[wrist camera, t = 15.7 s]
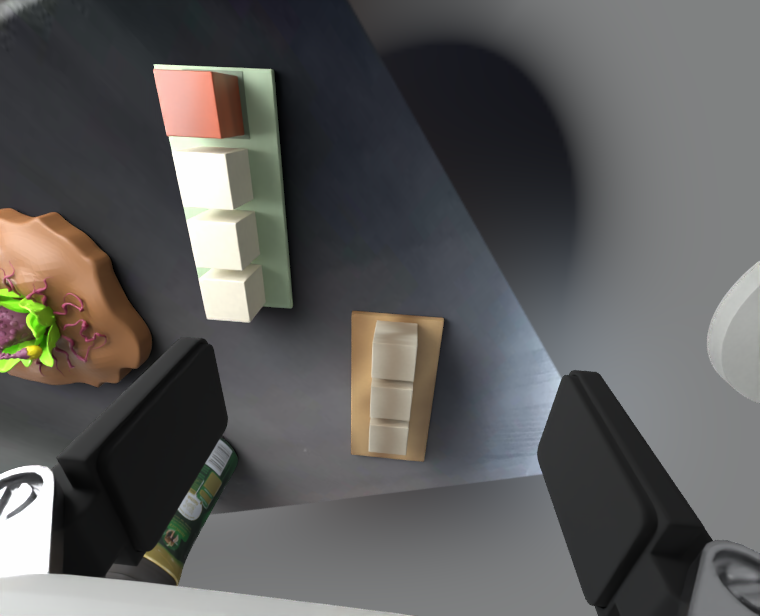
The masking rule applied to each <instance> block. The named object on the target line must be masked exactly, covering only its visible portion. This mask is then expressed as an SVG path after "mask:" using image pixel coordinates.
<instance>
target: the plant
mask: <svg viewBox="0 0 760 616" xmlns="http://www.w3.org/2000/svg"><path fill="white" fill-rule="evenodd" d="M151 348H152V336H151V333H150V330H149V329H148V327H147V325H146V323H145V322H144V320H143V319H142V318H141V316H140V315H139V314H138V313H137V311H136V310H135V309H134V308H133V306H132V305H131V303H130V302H129V300H128V299H127V297H126V295H125V293H124V291H123V289H122V287H121V285H120V283H119V281H118V279H117V277H116V276H115V273H114V271H113V267H112V262H111V259H110V258H109V256H108V255H107V254H106V253H105V252H103V251H102V250H101V249H100V248H99V247H98V246H97V245H96V244H95V243H94V241H93V240H92V239H91V238H90V237H89V236H87V235H86V234H85V233H84V232H82V231H81V230H79V229H77V228H76V227H74V226H73V225H71V224H70V223H69V222H67V221H66V220H65V219H64V218H63V217H62V216H61V215H60V214H58V213H56V212H52V213H48V214H45V215H42V216H38V217H30V216H27V215H24V214H21V213H19V212H17V211H15V210H13V209H10V208H5V209H0V372H8V373H9V374H10V375H12V376H17V377H21V378H24V379H27V380H32V381H37V382H42V383H45V384H50V385H63V384H71V383H76V382H82V383H87V384H90V385H93V386H95V387H100V386H101V385H102V384H103V383H105V382H109V383H118V382H120V381H121V380H122V379H123V378H124V377H125V376H126V375H127V374H128V373H129V372H130V371H131V370H132V368H133V369H136V368H138V367H140V366H141V365H142V364H143V363H144V362H145V361H146V360H147V359H148V357H149V355H150V352H151Z"/></svg>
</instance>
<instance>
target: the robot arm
mask: <svg viewBox="0 0 760 616" xmlns="http://www.w3.org/2000/svg"><path fill="white" fill-rule="evenodd" d="M759 349H760V348H759ZM227 422H228V416H227V411H226V406H225V401H224V397H223V392H222V387H221V382H220V378H219V373H218V368H217V363H216V359H215V354H214V349H213V347H212V345H210V344H208V343H207V341H206V340H205V339H202V338H191V337H181V338H180V339H178V340H177V341H176V342H175V343H174V344H173V345H172V346H171V347H170V348H169V349H168V350H167V351H166V352H165V353H164V354H163V355H162V356H161V357H160V358H159V359H158V360H157V361H156V362H155V363H154V364H153V365H151V366H150V367H149V368H148V369H147V370H146V371H145V372H144V373H143V374H142V375H141V376H140V377H139V378H138V379H137V380H136V381H135V382H134V383H133V384H132V385H131V386H130V387H129V388H128V389H127V390H126V391H125V392H124V393H123V394H122V395H121V396H119V397H118V398H117V399H116V400H115V401H114V402H113V403H112V404H111V405H110V406H109V407H108V408H107V409H106V410H105V411H104V412H103V413H102V414H101V415H100V416H99V417H98V418H97V419H96V420H95V421H94V422H93V423H92V424H91V425H90V426H89V427H87V428H86V429H85V430H84V431H83V432H82V433H81V434H80V435H79V436H78V437H77V438H76V439H75V440H74V441H73V442H72V443H71V444H70V445H69V446H68V447H67V448H66V449H65V450H64V451H63V452H62V453H61V454H60V455H59V456H58V457H57V460H58V463H57V464H56V465H55V466H54V467H53V468H52V469H51V470H49V469H48V468H47V467H43V466H38V465H34V466H24V467H20V468H17V469H13V470H10V471H7V472H5V473H3V474H0V616H414V615H406V614H398V613H390V612H382V611H374V610H367V609H359V608H351V607H343V606H335V605H327V604H319V603H311V602H302V601H294V600H287V599H279V598H271V597H263V596H255V595H247V594H238V593H230V592H222V591H213V590H205V589H197V588H189V587H180V586H172V585H164V584H155V583H147V582H137V581H127V580H117V579H107V578H106V574H107V572H108V571H109V569H110V568H111V566H112V565H113V563H114V564H120V565H128V566H136V567H137V566H138V564H139V563H140V561H141V560H142V558H143V556H144V555H145V553H146V552H149V551H151V550H152V549H153V548H154V547H155V546H156V545H157V543H158V542H159V540H160V538H161V537H162V535H163V533H164V532H165V530H166V528H167V527H168V525H169V523H170V522H171V520H172V518H173V517H174V515H175V513H176V512H177V510H178V508H179V506H180V505H181V503H182V501H183V500H184V498H185V496H186V495H187V493H188V491H189V490H190V488H191V486H192V485H193V483H194V481H195V480H196V478H197V476H198V475H199V473H200V471H201V470H202V468H203V466H204V465H205V463H206V461H207V460H208V458H209V456H210V455H211V453H212V451H213V450H214V448H215V446H216V445H217V443H218V441H219V440H220V438H221V436H222V434H223V433H224V431H225V429H226V426H227ZM537 456H538V461H539V465H540V468H541V471H542V473H543V476H544V479H545V482H546V485H547V488H548V491H549V494H550V497H551V499H552V503H553V505H554V509H555V512H556V514H557V517H558V520H559V523H560V526H561V529H562V532H563V535H564V538H565V541H566V543H567V547H568V550H569V552H570V555H571V558H572V561H573V564H574V567H575V570H576V573H577V576H578V579H579V582H580V585H581V588H582V591H583V593H584V596H585V599H586V600H587V602H588V603H589V604H590V605H592V606H595V608H596V611H597V614H598V616H760V553H758V552H756V551H754V550H752V549H750V548H748V547H746V546H744V545H741V544H738V543H735V542H731V541H727V540H715V541H713V540H712V539H711V537H710V536H709V534H708V533H707V531H706V530H705V528H704V526H703V524H702V523H701V521H700V520H699V519H698V518H697V516H696V514H695V513H694V511H693V510H692V508H691V507H690V505H689V504H688V502H687V501H686V499H685V498H684V497H683V495H682V494H681V492H680V491H679V489H678V488H677V486H676V485H675V483H674V482H673V480H672V479H671V478H670V476H669V475H668V473H667V472H666V470H665V469H664V467H663V466H662V464H661V463H660V462H659V460H658V459H657V457H656V456H655V454H654V453H653V451H652V450H651V448H650V447H649V445H648V444H647V443H646V441H645V440H644V438H643V437H642V435H641V434H640V432H639V431H638V429H637V428H636V427H635V425H634V423H633V422H632V421H631V419H630V418H629V416H628V415H627V413H626V412H625V410H624V409H623V407H622V406H621V404H620V403H619V402H618V400H617V399H616V397H615V396H614V394H613V393H612V391H611V390H610V389H609V387H608V385H607V384H606V383H605V381H604V380H603V378H602V377H601V375H600V374H599V373H597V372H589V371H577V370H574V371H571V372H570V374H569V375H564V376H563V377H562V379H561V382H560V385H559V388H558V391H557V394H556V397H555V400H554V402H553V405H552V408H551V411H550V414H549V417H548V420H547V423H546V426H545V428H544V431H543V434H542V437H541V440H540V443H539V446H538V451H537Z"/></svg>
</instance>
